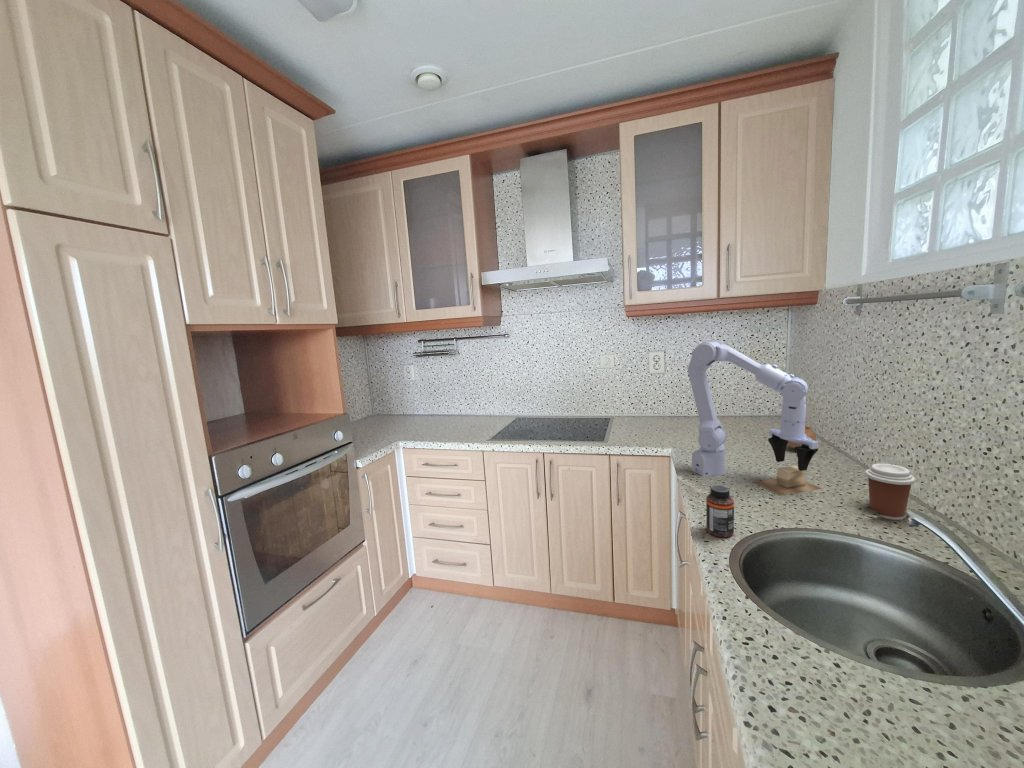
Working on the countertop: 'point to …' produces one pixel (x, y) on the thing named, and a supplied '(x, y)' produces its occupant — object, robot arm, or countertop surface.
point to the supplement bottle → (720, 512)
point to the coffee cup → (889, 490)
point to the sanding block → (790, 477)
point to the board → (780, 490)
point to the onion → (809, 434)
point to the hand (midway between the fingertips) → (790, 465)
